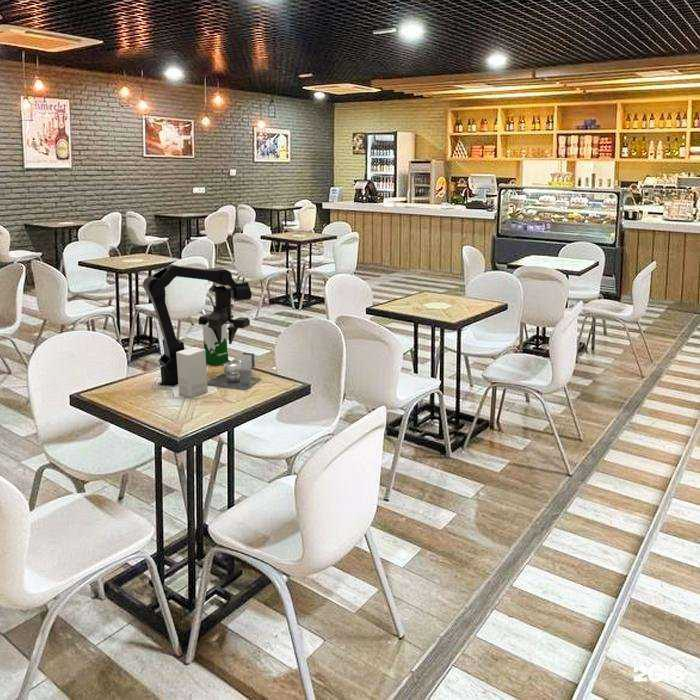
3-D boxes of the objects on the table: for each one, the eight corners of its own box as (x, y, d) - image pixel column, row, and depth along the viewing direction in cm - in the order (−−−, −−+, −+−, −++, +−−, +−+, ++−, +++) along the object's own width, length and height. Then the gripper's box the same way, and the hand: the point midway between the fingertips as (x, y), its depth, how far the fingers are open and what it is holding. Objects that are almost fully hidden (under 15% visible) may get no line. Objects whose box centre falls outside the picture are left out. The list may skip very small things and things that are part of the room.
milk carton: (216, 367, 283) (213, 317, 278) (200, 363, 288) (197, 314, 283) (232, 362, 290) (230, 313, 285) (216, 358, 295) (213, 310, 290)
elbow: (236, 379, 259) (236, 365, 258) (221, 377, 261) (220, 363, 260) (257, 367, 274) (256, 353, 273) (241, 365, 276) (241, 352, 275)
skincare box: (195, 388, 258) (193, 346, 254) (209, 392, 254) (206, 349, 250) (177, 394, 251) (175, 351, 247) (191, 398, 247) (188, 354, 243)
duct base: (205, 385, 261) (204, 368, 259) (222, 376, 272) (221, 359, 270) (246, 390, 256) (245, 372, 254) (261, 380, 267) (260, 363, 265)
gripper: (189, 305, 262) (191, 346, 266) (235, 308, 256) (237, 351, 261) (205, 299, 273) (207, 339, 277) (249, 302, 267) (251, 343, 271)
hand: (225, 343), depth 271 cm, fingers open, 4 cm apart
